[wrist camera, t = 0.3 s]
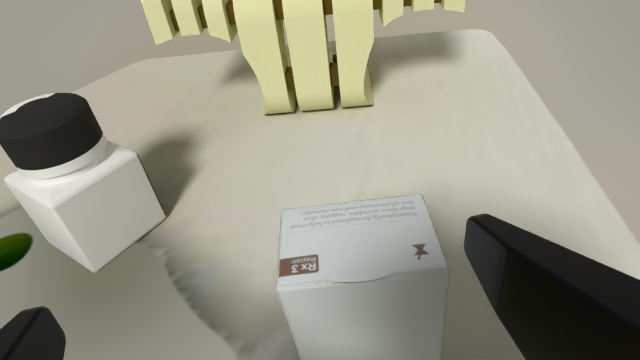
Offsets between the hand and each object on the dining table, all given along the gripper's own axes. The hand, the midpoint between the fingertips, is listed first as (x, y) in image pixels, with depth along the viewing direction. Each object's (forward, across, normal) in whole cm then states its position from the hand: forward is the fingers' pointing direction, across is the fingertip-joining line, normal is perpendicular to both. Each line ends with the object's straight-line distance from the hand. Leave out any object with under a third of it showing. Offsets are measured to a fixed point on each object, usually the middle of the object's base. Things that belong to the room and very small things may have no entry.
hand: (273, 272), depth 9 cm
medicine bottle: (+25, +14, +15) cm, 32 cm away
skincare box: (+6, -4, +16) cm, 17 cm away
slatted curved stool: (+43, -9, +12) cm, 46 cm away
